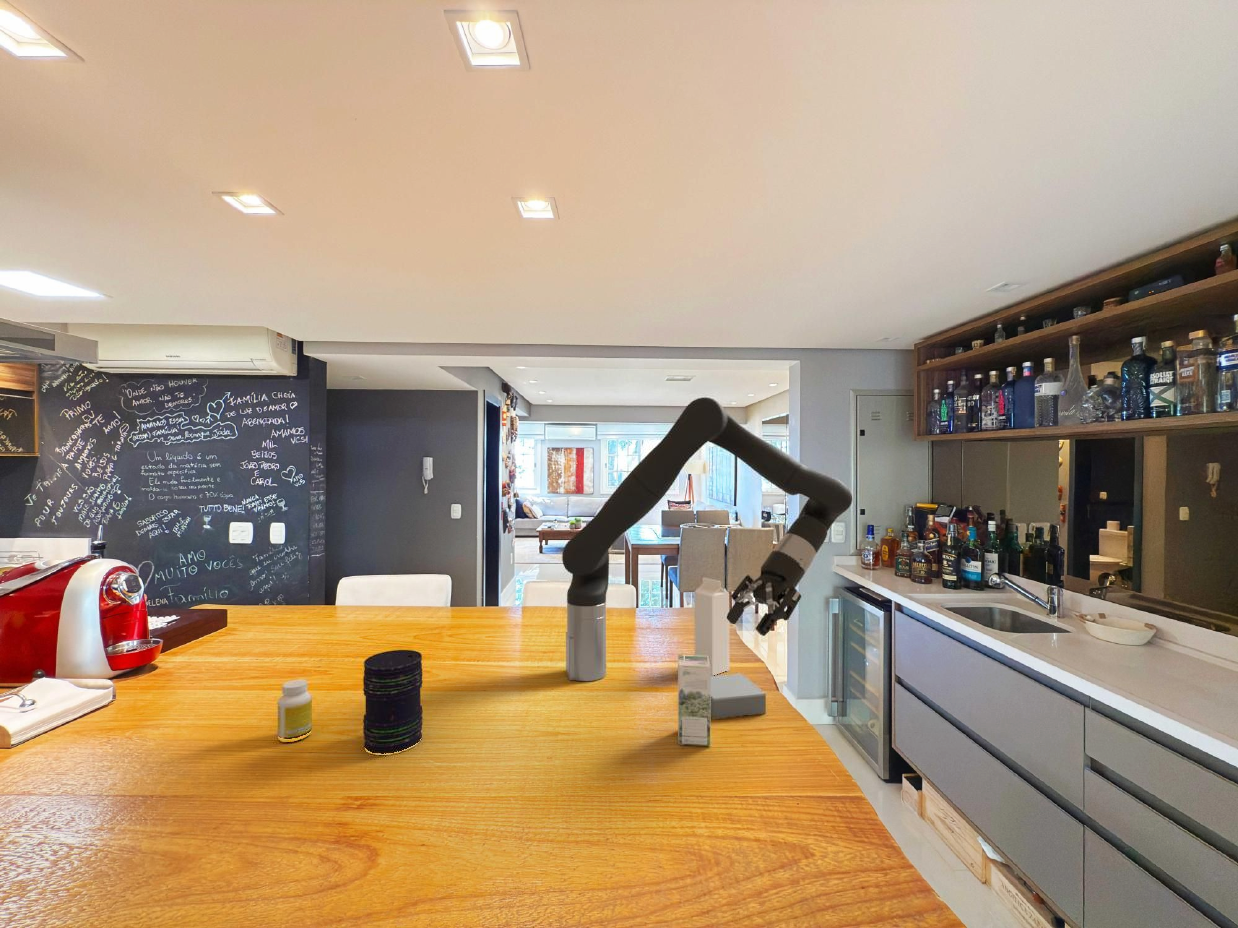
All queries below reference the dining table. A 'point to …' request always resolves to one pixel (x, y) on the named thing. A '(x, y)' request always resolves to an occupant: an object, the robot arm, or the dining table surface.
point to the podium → (735, 696)
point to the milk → (712, 624)
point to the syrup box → (694, 700)
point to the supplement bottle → (294, 710)
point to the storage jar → (392, 701)
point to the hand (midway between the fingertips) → (744, 626)
